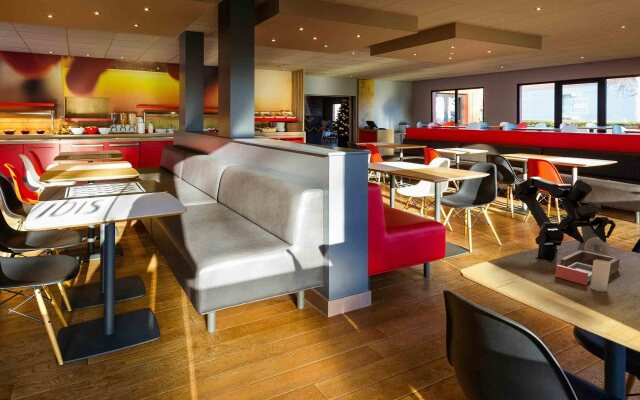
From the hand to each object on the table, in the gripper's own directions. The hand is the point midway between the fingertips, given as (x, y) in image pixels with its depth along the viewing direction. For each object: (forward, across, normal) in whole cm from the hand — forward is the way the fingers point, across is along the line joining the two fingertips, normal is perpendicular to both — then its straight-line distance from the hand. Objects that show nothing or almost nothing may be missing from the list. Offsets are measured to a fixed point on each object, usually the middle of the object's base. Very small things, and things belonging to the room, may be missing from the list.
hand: (594, 242), depth 168 cm
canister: (+15, -3, +7) cm, 17 cm away
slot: (+2, +7, +17) cm, 19 cm away
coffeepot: (-14, +25, +30) cm, 42 cm away
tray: (+6, -1, +14) cm, 15 cm away
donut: (-7, +20, +24) cm, 32 cm away
